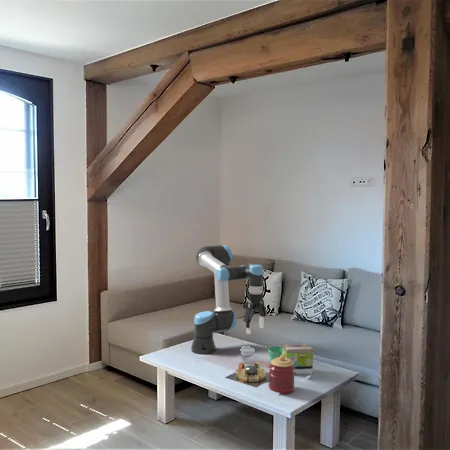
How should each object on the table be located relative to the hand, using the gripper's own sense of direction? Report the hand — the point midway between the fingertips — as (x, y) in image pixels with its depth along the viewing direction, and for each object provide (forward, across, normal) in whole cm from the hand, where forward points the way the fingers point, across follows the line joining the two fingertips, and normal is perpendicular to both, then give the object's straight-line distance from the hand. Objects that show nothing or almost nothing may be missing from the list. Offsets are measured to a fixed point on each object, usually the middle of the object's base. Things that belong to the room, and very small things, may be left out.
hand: (255, 330), depth 269 cm
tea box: (+23, +12, -20) cm, 33 cm away
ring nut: (+21, -11, -5) cm, 24 cm away
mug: (+23, +15, -8) cm, 28 cm away
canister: (+23, -14, -24) cm, 36 cm away
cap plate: (+22, -11, -5) cm, 25 cm away
